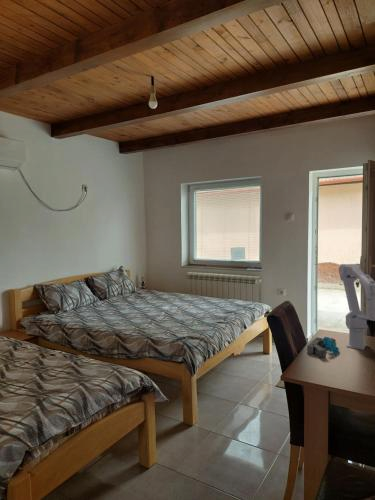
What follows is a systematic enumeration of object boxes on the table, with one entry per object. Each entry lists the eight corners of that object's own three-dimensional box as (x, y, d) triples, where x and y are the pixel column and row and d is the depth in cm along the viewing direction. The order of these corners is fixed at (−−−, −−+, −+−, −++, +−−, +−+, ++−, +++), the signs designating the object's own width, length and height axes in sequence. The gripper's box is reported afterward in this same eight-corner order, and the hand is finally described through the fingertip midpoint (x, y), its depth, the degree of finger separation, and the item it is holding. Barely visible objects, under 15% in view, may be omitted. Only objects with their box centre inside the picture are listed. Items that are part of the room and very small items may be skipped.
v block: (318, 342, 191) (318, 335, 191) (336, 346, 186) (336, 338, 185) (304, 355, 173) (305, 347, 172) (324, 359, 167) (324, 351, 167)
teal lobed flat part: (334, 354, 169) (321, 336, 174) (325, 361, 172) (313, 343, 177) (344, 352, 177) (331, 334, 182) (335, 358, 180) (322, 341, 185)
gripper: (355, 307, 169) (354, 335, 170) (389, 311, 161) (389, 341, 162) (358, 305, 175) (357, 332, 176) (391, 308, 167) (390, 337, 167)
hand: (372, 336), depth 169 cm, fingers closed
